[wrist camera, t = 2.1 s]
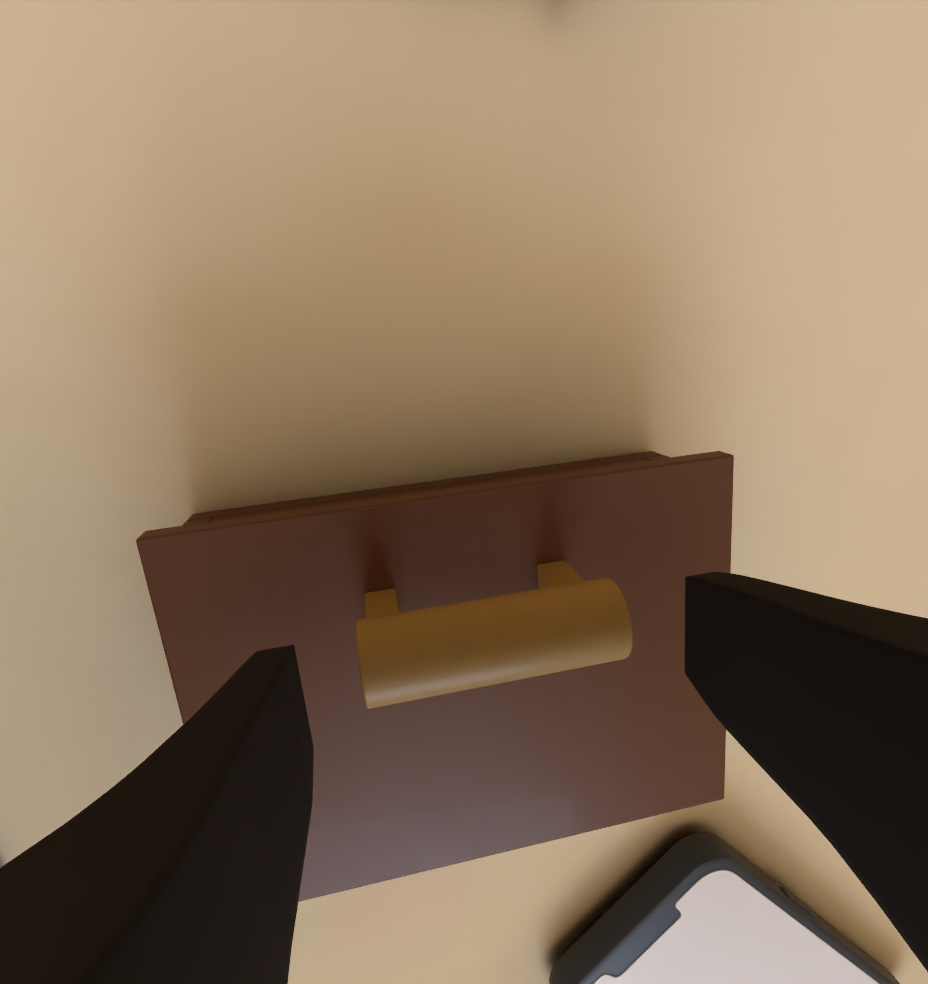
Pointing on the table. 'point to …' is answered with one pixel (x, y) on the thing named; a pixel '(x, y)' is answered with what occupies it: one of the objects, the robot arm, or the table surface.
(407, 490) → the brown box tray
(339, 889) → the brown box lid
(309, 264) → the table surface
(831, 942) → the smartphone
